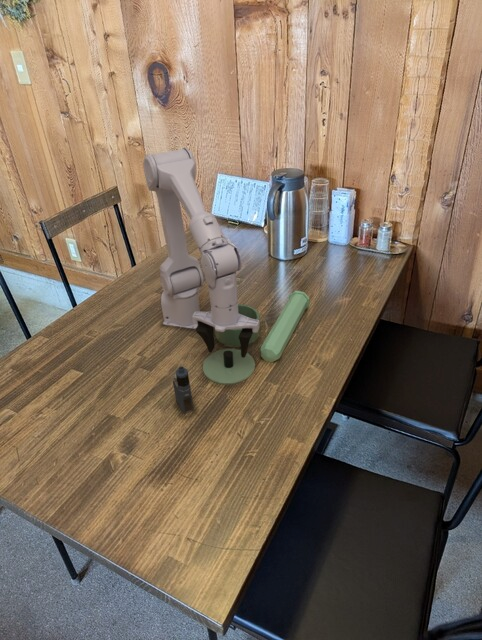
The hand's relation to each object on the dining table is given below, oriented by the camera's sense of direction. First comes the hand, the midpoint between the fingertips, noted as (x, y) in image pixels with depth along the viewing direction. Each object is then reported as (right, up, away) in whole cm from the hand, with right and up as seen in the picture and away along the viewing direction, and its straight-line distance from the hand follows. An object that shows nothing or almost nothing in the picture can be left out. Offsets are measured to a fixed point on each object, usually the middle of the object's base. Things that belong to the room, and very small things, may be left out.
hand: (227, 352), depth 100 cm
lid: (0, -3, +2) cm, 4 cm away
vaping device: (-9, -11, -7) cm, 16 cm away
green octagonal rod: (+14, +3, +13) cm, 19 cm away
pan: (+2, +4, +13) cm, 14 cm away
